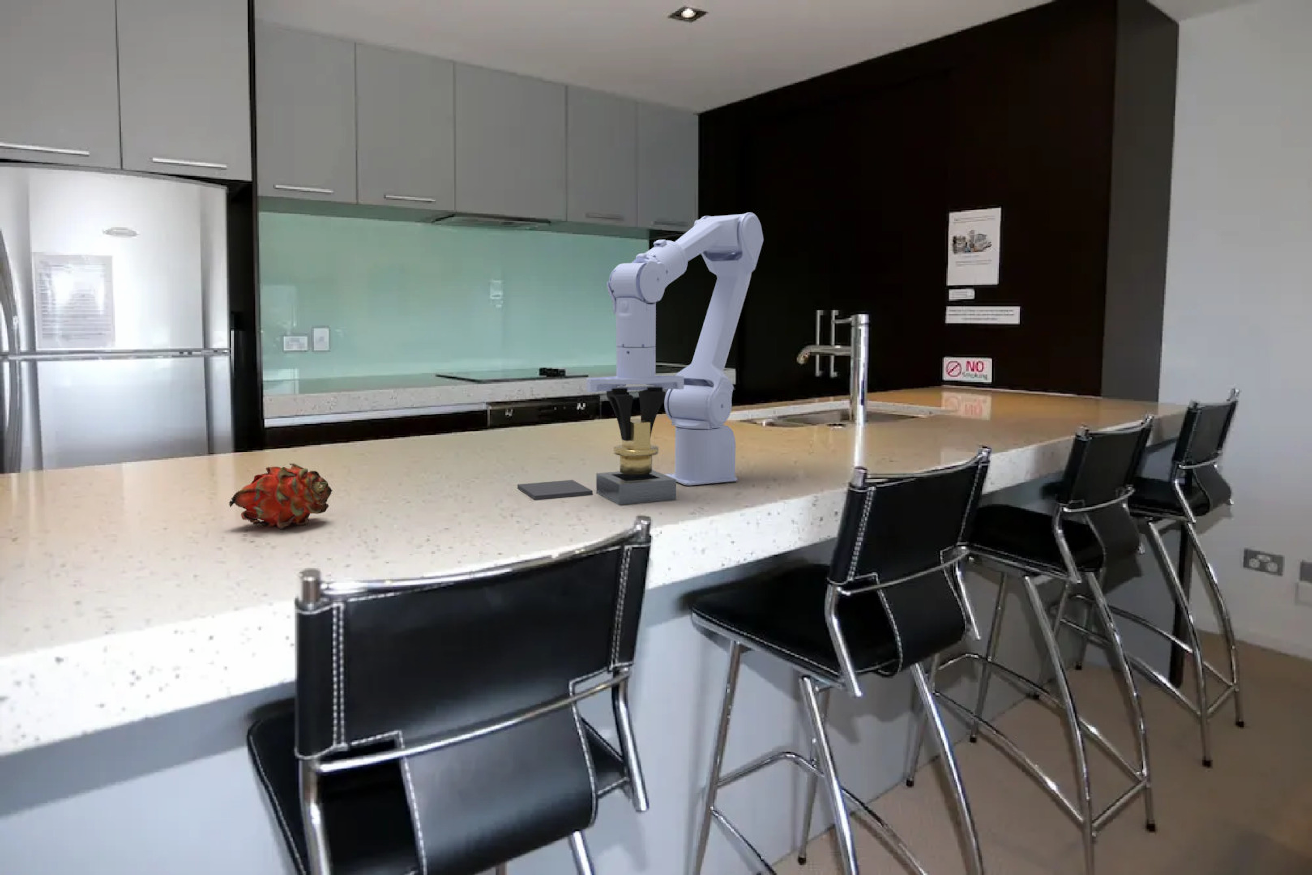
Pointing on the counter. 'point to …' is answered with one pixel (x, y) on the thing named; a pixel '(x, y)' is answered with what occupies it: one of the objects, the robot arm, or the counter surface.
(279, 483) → the dragon fruit
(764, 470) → the counter surface
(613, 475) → the housing
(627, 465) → the end cover
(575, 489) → the mat
